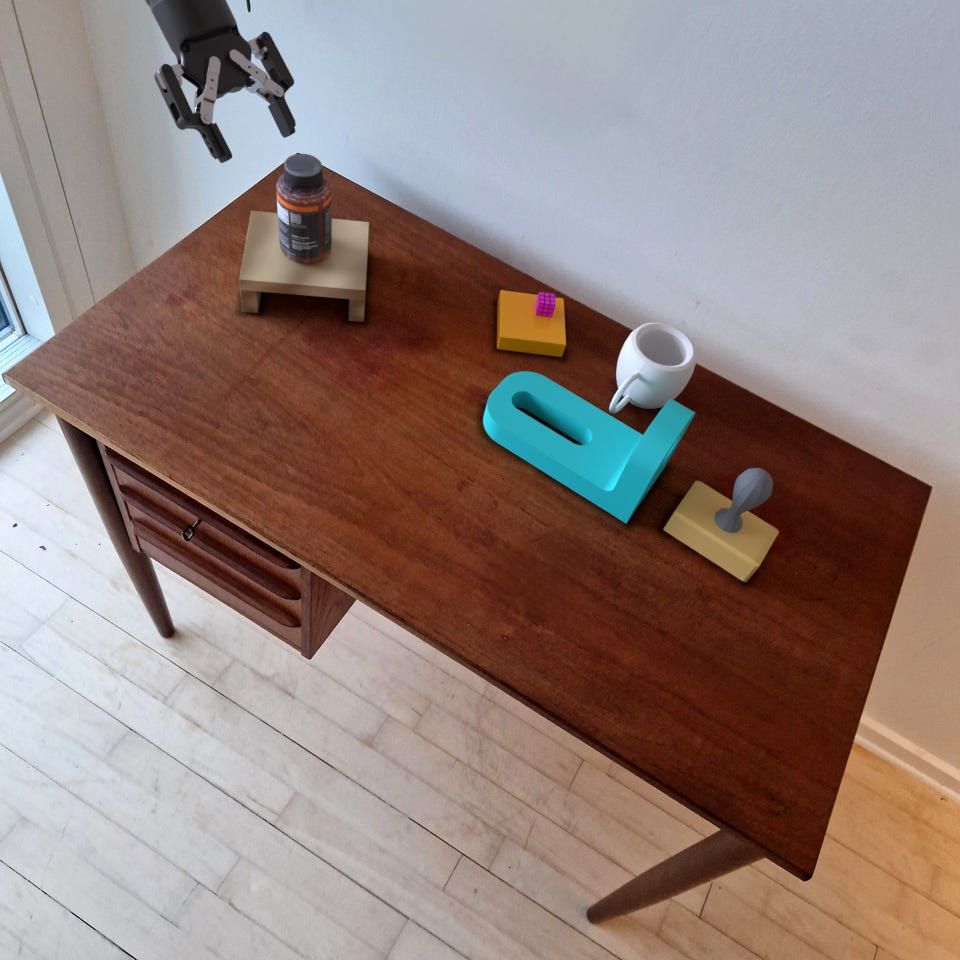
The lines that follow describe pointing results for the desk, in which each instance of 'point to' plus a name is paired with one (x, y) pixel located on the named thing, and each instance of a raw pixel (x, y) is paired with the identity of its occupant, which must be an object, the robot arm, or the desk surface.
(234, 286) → the desk surface
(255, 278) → the stand
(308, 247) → the supplement bottle
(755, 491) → the rubber stamp
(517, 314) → the orange block
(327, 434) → the desk surface
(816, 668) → the desk surface
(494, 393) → the bracket
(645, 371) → the mug
